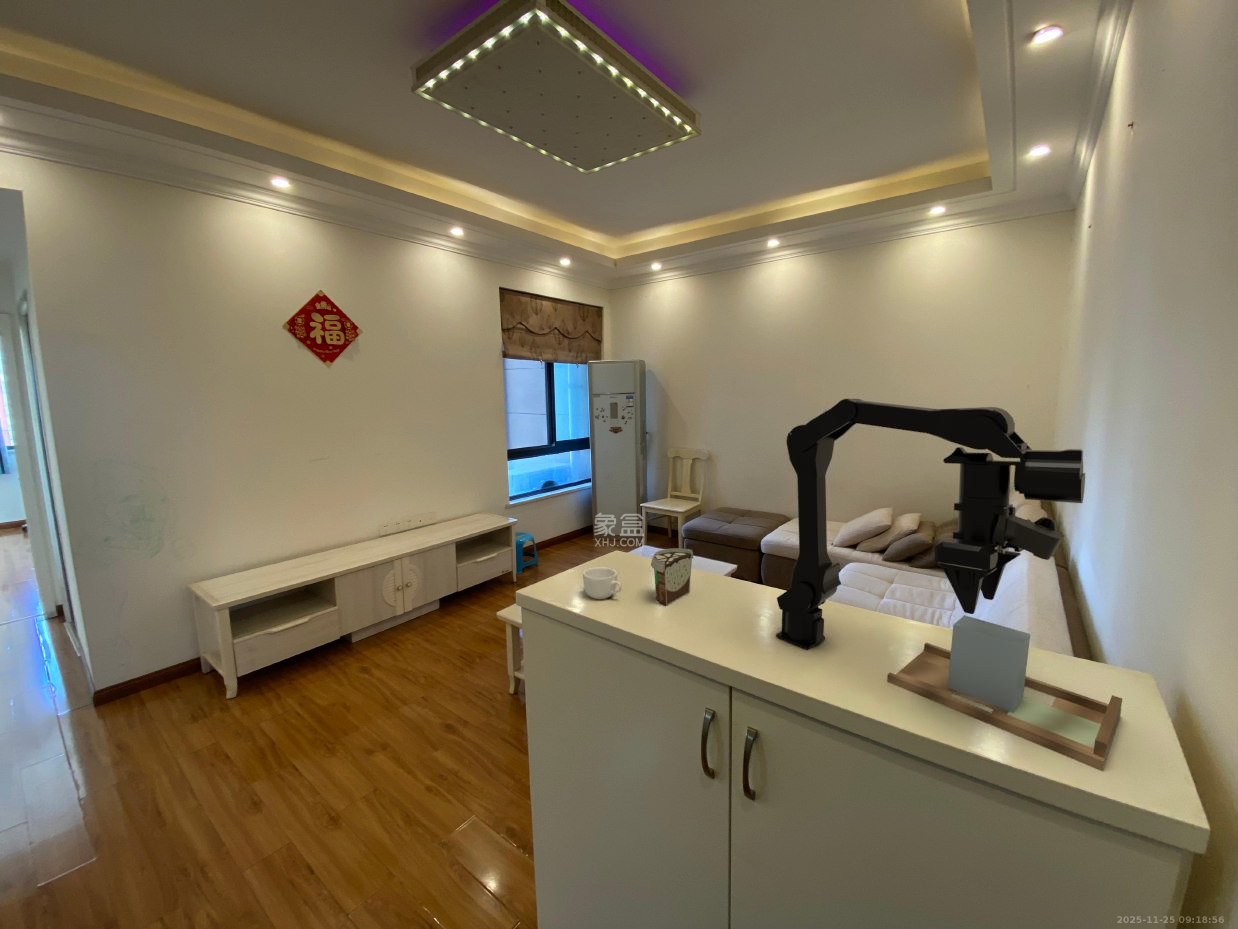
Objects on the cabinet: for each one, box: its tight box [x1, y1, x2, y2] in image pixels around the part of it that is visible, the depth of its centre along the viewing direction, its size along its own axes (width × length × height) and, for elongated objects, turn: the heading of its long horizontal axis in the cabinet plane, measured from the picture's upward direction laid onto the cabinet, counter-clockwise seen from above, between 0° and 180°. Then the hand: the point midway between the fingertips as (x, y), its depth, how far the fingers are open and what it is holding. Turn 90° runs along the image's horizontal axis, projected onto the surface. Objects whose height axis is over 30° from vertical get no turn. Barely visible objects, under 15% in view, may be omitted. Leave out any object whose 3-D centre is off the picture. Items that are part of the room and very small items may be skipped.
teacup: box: [582, 566, 623, 600], centre depth 112 cm, size 10×8×5 cm
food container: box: [650, 548, 694, 607], centre depth 111 cm, size 12×6×10 cm, turn 141°
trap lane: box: [886, 642, 1123, 772], centre depth 72 cm, size 24×16×4 cm, turn 40°
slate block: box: [947, 615, 1031, 713], centre depth 73 cm, size 8×5×10 cm, turn 40°
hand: (979, 606), depth 71 cm, fingers open, 9 cm apart
